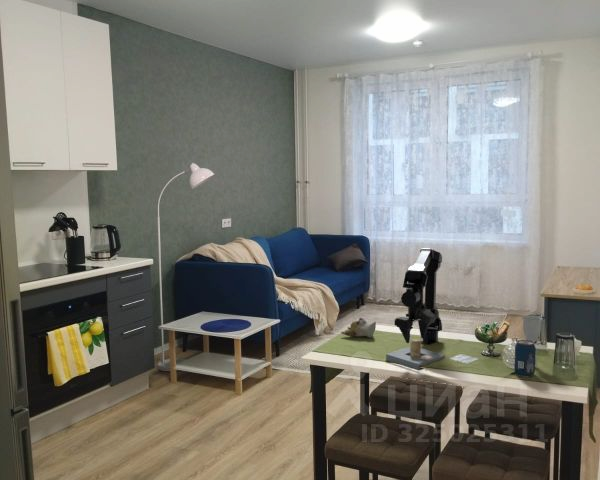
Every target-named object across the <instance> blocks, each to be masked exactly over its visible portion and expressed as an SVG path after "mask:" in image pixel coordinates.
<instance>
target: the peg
mask: <svg viewBox="0 0 600 480" xmlns="http://www.w3.org/2000/svg"><path fill="white" fill-rule="evenodd" d="M421 341H422V340H420V339H414V338H413V339H410V341H409V344H410V346H409V347H410V355H409V356H412V357H415V358H418V357H421V348H422V345H421V344H422V343H421Z"/></svg>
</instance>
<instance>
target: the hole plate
mask: <svg viewBox="0 0 600 480" xmlns="http://www.w3.org/2000/svg"><path fill="white" fill-rule="evenodd" d="M445 356H446V355H445V354H443V353H439V352H437V351H432V350H430V349H429V350H428V349H425V348H422V347H421V357H418V358H415V357H412V356H410V346H407V347H403V348H401V349H398V350H397V349H396V350H395V351H391V352H389V353H386V354H385V361H386V362H390V363H394V364H397V365H400V366H404V367H406V368H409V369H413V370H415V371H419V372H420V371H421V370H423V369H424V370H425V367H424V368H423V367H422V366H425V365H428V364H431V363H433V362H436V361H439V360H441V359H444V358H446V357H445Z"/></svg>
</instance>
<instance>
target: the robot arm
mask: <svg viewBox="0 0 600 480" xmlns="http://www.w3.org/2000/svg"><path fill="white" fill-rule="evenodd" d="M442 263H443V255H442V253H441V252H440V251H437V250H434V248H427V247H422V248H420V251H419V254H418V257H417V258H416V261H415V263H414V264H413V265H411V266H409V267H408V268H407V270H406V271H405V274H404V280H403V285H402V288H403V289H404V288H405V290H406V291H405V292H403V293H402V294H401V297H400V301H401V303H402V305H404V306H405V307H407V313H405V316H400V317H399V316H398V317H396V318H394V326H396V327H397V328H398V329H399V331H400V333H401V334H402V336H403V339H404V340H405V343H407V344H410V340H411V331H412V329H413V328H414V327H413V325H414V323H415V322H417V323H418V330H419V334H420V339H422V340H420V341H421V344H424V345H426V346H427V345H428V346H429V345H430V346H431V345H433V344H437V343H440V340H439V332H440V331H443V323H442V320H441V317H440V312H439V310H438V309H437V306H436V303H437V301H436V298H437V294H436V293H437V273H438V271H439V269H440V268H441V264H442Z"/></svg>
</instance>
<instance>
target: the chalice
mask: <svg viewBox="0 0 600 480" xmlns="http://www.w3.org/2000/svg"><path fill="white" fill-rule="evenodd" d="M521 317H522V331H523V335H524V337H525V340H529V341H532V342H534V343H535V342H536V341H537V339H538V337H539V336H540V334H541V331H542V321H543V319H544V318H543V317H541V316H538V315H522V316H521ZM537 364H538V363H537V359H536V358H535V365H537ZM537 366H538V365H537Z"/></svg>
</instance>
